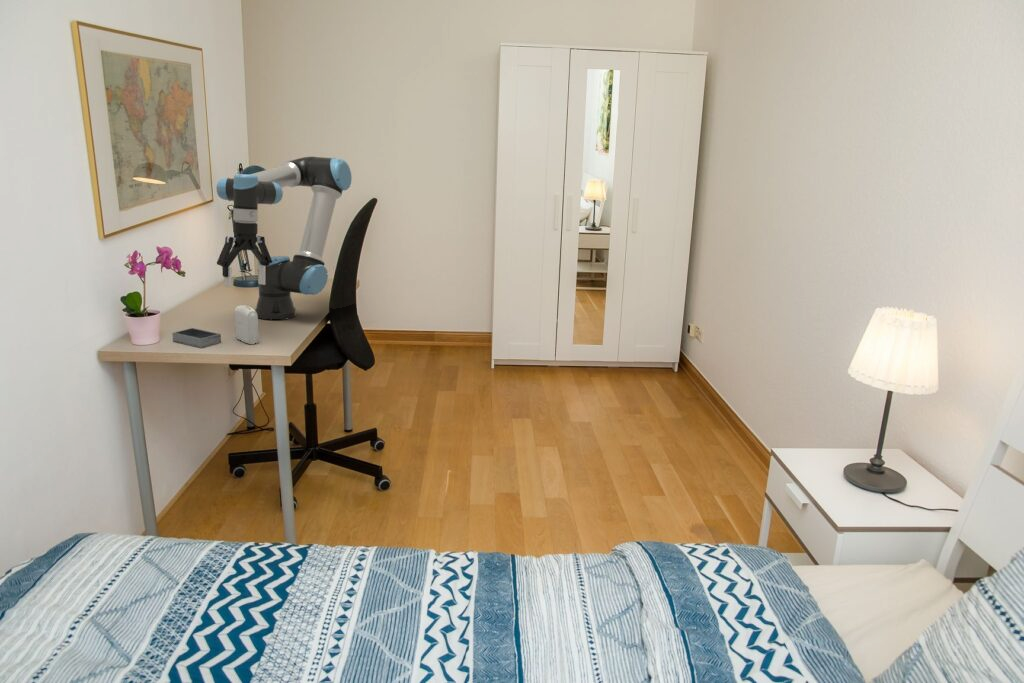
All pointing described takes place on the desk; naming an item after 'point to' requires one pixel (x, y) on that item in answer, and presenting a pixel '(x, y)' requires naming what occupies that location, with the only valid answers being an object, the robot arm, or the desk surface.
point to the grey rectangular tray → (196, 337)
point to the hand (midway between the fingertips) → (245, 285)
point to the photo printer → (246, 324)
